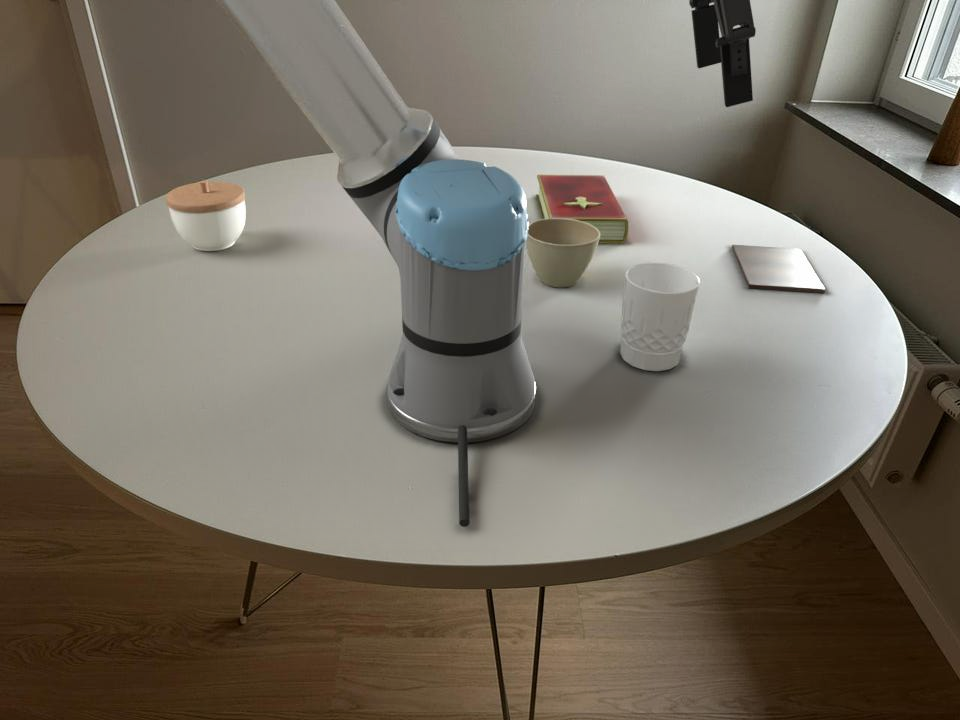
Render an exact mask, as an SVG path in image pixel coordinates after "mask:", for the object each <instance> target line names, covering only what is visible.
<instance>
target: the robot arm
mask: <svg viewBox="0 0 960 720" xmlns="http://www.w3.org/2000/svg"><path fill="white" fill-rule="evenodd" d="M214 1H215V2H216V3H217V5H218V6H219V7H220V8H221V10H222V11H223V12H224V13H225V15H226V16H227V17H228V19H229V20H230V21H231V23H232V24H233V26H234V27H235V28H236V29H237V30H238V31H239V33H240V34H241V35H242V37H243V38H244V40H245V41H246V42H247V43H248V45H249V46H250V47H251V48H252V49H253V51H254V52H255V54H256V55H257V56H258V57H259V59H260V60H261V61H262V62H263V64H264V65H265V67H266V68H267V69H268V70H269V71H270V73H271V74H272V75H273V76H274V78H275V80H277V82H278V83H279V84H280V86H281V87H282V88H283V90H284V91H285V92H286V93H287V94H288V96H289V97H290V98H291V99H292V101H293V102H294V103H295V104H296V106H297V107H298V109H299V110H300V111H301V112H302V114H303V115H304V116H305V117H306V118H307V120H308V121H309V123H310V124H311V125H312V126H313V128H314V129H315V130H316V132H317V133H318V134H319V136H321V138H322V139H323V140H324V142H325V143H326V144H327V145H328V148H330V149H331V150H332V152H333V153H334V155H335V156H336V157H337V158H338V165H337V173H336V179H337V183H338V184H339V185H340V186H341V187H342V189H343V190H344V191H345V193H346V194H347V195H348V196H349V197H350V199H351V200H352V202H354V204H355V205H356V207H358V209H359V210H360V212H361V213H362V214H363V215H364V216H365V218H366V219H367V220H368V222H369V223H370V224H371V225H372V227H373V228H374V229H375V230H376V232H377V233H378V235H379V236H380V238H381V240H382V241H383V242H384V244H385V246H386V248H387V250H388V252H389V254H390V255H391V257H392V259H393V261H394V262H395V264H396V266H397V268H398V272H399V278H400V299H401V324H402V325H401V327H402V336H401V338H400V341H399V345H398V348H397V351H396V354H395V356H394V360H393V363H392V366H391V369H390V371H389V372H390V373H389V375H388V379H387V383H386V397H387V406H388V410H389V412H390V414H391V416H392V417H393V418H394V420H395V421H396V422H398V424H400V425H401V426H402V427H403V428H405V429H407V430H408V431H409V432H412V433H413V434H416V435H418V436H420V437H424V438H427V439H431V440H434V441H439V442H447V443H457V459H458V470H457V471H458V524H459V526H460V527H462V528H467V527H468V526H470V521H471V519H470V493H469V492H470V488H469V453H468V452H469V451H468V448H469V447H468V443H477V442H483V441H489V440H493V439H497V438H499V437H503V436H506V435H507V434H509V433H511V432H513V431H515V430H516V429H518V428H520V427H521V426H523V425H524V423H525V422H527V421H528V420H529V418H530V417H531V415H533V411H534V409H535V406H536V393H537V392H536V391H537V386H536V381H535V377H534V373H533V370H532V366H531V364H530V361H529V357H528V354H527V351H526V347H525V344H524V341H523V338H522V320H523V319H522V318H523V303H524V287H525V271H526V256H527V255H526V254H527V246H526V240H527V235H528V229H529V223H530V222H529V219H528V217H529V215H528V212H527V211H528V210H527V209H528V207H527V206H528V203H527V197H526V193H525V190H524V188H523V187H522V185H521V184H520V181H518V180H517V179H516V178H515V177H514V176H513V175H512V174H510V173H509V172H507V171H505V170H504V169H502V168H499V167H497V166H487V165H486V163H485V162H481V161H476V160H470V159H461V158H460V157H459V155H458V154H457V152H456V150H455V149H454V148H453V146H452V145H451V142H449V140H448V138H447V137H446V135H445V134H444V132H443V131H442V130H441V128H440V126H439V125H438V124H437V122H436V120H435V119H434V118H433V116H432V115H431V113H430V112H429V111H427V110H425V109H420V108H414V107H408V105H407V104H406V103H405V101H404V100H403V99H402V97H401V96H400V94H399V93H398V91H397V89H396V88H395V86H393V84H392V82H391V80H390V78H388V77H387V74H386V73H385V72H384V71H383V69H382V67H381V66H380V65H379V63H378V61H377V60H376V58H375V57H374V56H373V54H372V52H371V51H370V50H369V48H368V47H367V46H366V44H365V43H364V41H363V40H362V38H361V37H360V35H359V33H358V32H357V31H356V29H355V28H354V26H353V25H352V24H351V22H350V21H349V19H348V18H347V16H346V15H345V13H344V12H343V10H342V9H341V7H340V6H339V4H338V3H337V1H336V0H214ZM688 4H689V7H690V8H691V19H692V31H693V39H694V48H695V50H694V51H695V58H696V59H695V60H696V67H697V69H702V68H707V67H710V66H714V65H717V64H721V76H722V90H723V101H724V106H725V107H726V108H731V107H734V106H739V105H741V104H744V103H749V102H753V101H754V97H753V96H754V95H753V80H752V66H751V65H752V64H751V47H750V39H752V38H755V37H756V26H755V23H754V16H753V10H752V6H751V0H688ZM734 27H735V28H734ZM720 35H721V36H720Z"/></svg>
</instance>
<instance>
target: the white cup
mask: <svg viewBox="0 0 960 720" xmlns="http://www.w3.org/2000/svg"><path fill="white" fill-rule="evenodd" d="M700 283H701V281H700V278H699V276H698V275H697V274H696V273H694V272H693V271H692V270H689V268H686V267H684V266H680V265H677V264H673V263H667V262H653V261H652V262H642V263H641V262H640V263H638V264H634V265H632V266H630V267H629V268H628V269H626V271H625V274H624V285H623V286H624V287H623V297H622V309H621V310H622V311H621V326H620V327H621V329H620V330H621V338H620V348H619V349H620V350H619V353H620V355H621V358H622V360H623V361H624V362H625V363H627V364H629V365H630V366H632V367H634V368H636V369H640V370H643V371H651V372H663V371H667V370H672V369H673V368H674V367H677V366H678V365H679V363H680V360H681V356H682V351H683V347H684V344H685V342H686V340H687V335H688V332H689V330H690V325H691V321H692V316H693V312H694V308H695V304H696V300H697V296H698V291H699V288H700Z"/></svg>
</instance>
